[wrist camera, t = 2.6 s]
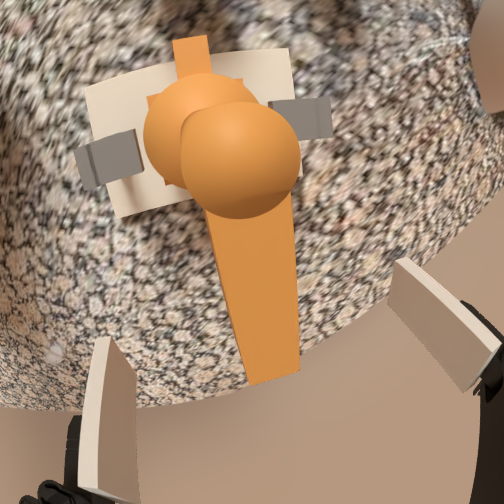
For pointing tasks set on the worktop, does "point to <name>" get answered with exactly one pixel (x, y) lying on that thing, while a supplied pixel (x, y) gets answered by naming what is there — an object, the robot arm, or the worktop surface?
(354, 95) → the worktop surface
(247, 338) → the lever handle
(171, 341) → the worktop surface
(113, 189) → the base
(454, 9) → the worktop surface
